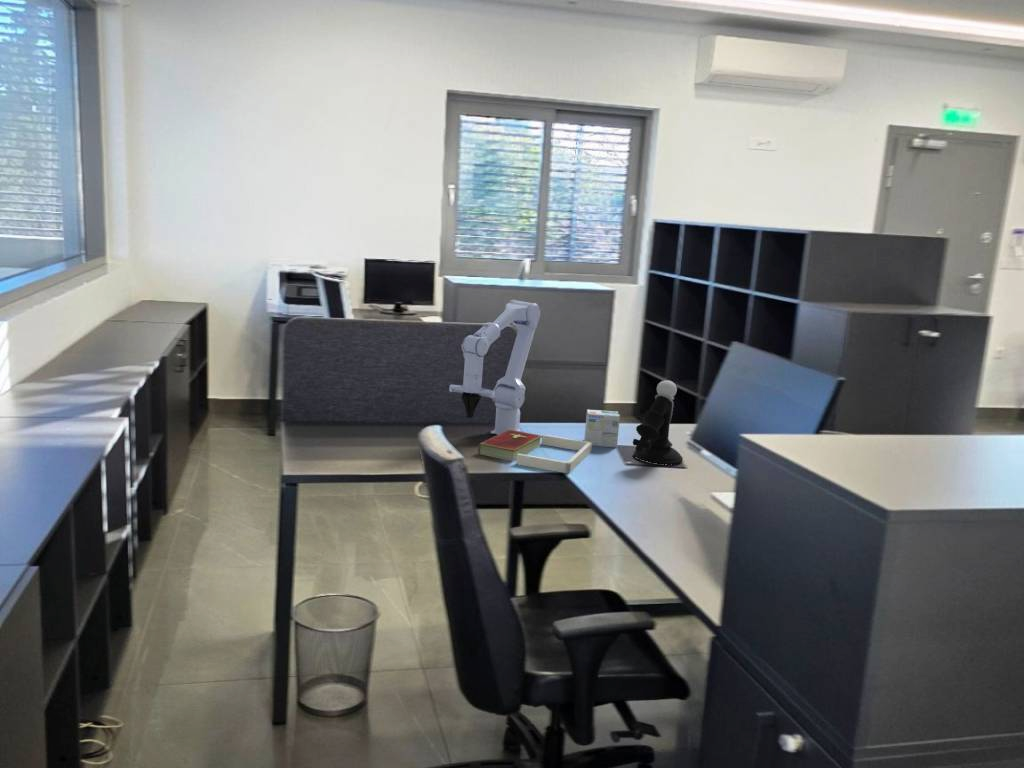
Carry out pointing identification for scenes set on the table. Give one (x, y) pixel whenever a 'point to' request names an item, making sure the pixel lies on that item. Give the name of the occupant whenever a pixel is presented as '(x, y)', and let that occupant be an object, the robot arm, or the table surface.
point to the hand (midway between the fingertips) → (470, 416)
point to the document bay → (557, 465)
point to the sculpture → (658, 429)
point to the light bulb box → (602, 428)
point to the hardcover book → (509, 445)
